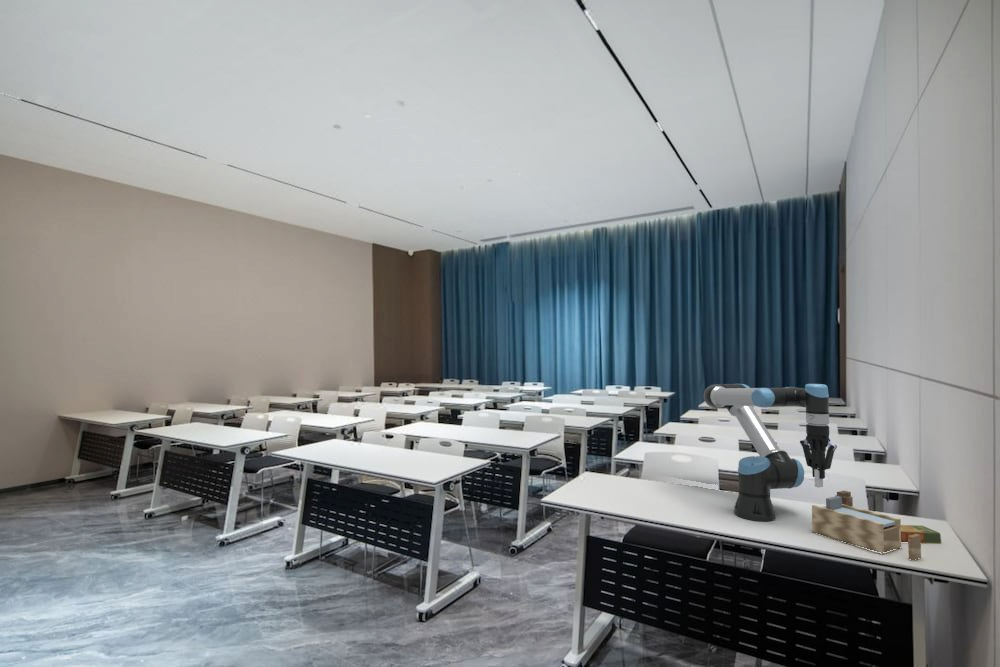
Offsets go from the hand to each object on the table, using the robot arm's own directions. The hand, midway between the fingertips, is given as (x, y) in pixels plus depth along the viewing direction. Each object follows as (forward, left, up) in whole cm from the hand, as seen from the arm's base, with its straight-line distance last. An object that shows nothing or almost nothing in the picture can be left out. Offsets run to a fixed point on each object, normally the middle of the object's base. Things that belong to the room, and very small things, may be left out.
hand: (818, 486), depth 191 cm
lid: (+13, 0, -8) cm, 15 cm away
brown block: (+3, +10, -16) cm, 19 cm away
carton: (+20, +19, -17) cm, 32 cm away
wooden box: (+16, 0, -16) cm, 23 cm away
